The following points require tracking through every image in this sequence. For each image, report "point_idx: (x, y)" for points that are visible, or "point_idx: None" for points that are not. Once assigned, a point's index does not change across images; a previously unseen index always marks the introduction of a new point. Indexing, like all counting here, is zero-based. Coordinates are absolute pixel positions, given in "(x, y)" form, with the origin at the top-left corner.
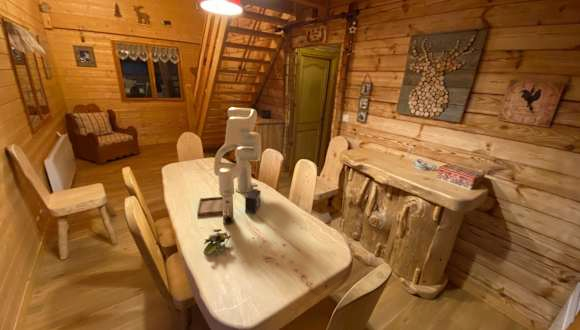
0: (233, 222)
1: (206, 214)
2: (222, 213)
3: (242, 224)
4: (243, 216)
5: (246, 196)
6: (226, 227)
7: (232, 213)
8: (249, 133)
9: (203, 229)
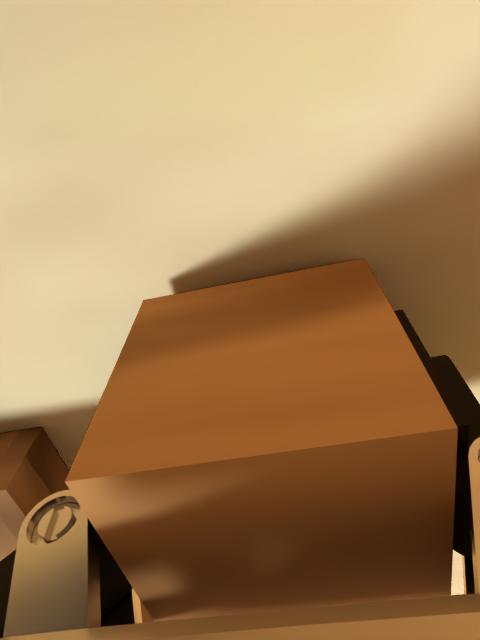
0: (368, 267)
1: (143, 622)
2: (59, 480)
3: (435, 9)
4: (29, 47)
5: None
6: (477, 358)
7: (401, 460)
8: None
9: (451, 583)
